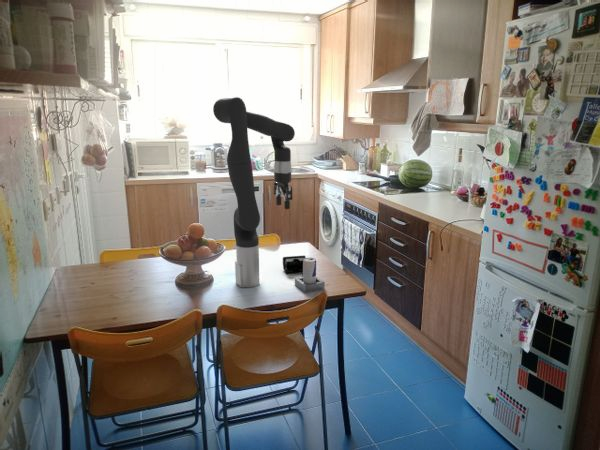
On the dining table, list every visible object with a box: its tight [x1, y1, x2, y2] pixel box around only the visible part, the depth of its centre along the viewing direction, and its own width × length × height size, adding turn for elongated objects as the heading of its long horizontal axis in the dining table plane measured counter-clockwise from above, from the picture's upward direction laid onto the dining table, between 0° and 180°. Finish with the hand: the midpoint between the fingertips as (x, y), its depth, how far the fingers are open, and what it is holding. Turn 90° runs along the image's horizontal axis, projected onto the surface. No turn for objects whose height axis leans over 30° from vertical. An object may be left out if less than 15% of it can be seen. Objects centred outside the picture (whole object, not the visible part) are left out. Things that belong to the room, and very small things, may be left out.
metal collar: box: [294, 276, 326, 294], centre depth 183 cm, size 9×9×3 cm
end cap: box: [282, 255, 307, 275], centre depth 200 cm, size 10×7×7 cm
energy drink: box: [302, 257, 317, 284], centre depth 182 cm, size 5×5×12 cm
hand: (282, 207), depth 199 cm, fingers open, 8 cm apart
